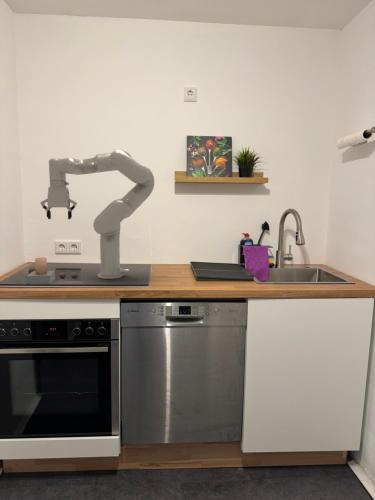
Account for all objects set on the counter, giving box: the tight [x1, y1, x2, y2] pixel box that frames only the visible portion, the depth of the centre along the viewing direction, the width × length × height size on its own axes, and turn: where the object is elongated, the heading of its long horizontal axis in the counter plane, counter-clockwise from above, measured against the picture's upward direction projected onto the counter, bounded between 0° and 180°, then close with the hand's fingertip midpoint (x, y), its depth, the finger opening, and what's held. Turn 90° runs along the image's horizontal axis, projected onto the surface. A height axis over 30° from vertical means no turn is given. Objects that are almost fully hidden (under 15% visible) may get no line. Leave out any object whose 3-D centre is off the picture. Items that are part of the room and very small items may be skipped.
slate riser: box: [26, 270, 56, 285], centre depth 165 cm, size 10×10×4 cm
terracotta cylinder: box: [34, 257, 48, 274], centre depth 164 cm, size 5×5×7 cm
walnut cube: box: [27, 267, 35, 275], centre depth 174 cm, size 4×4×4 cm
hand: (59, 219), depth 176 cm, fingers open, 9 cm apart
